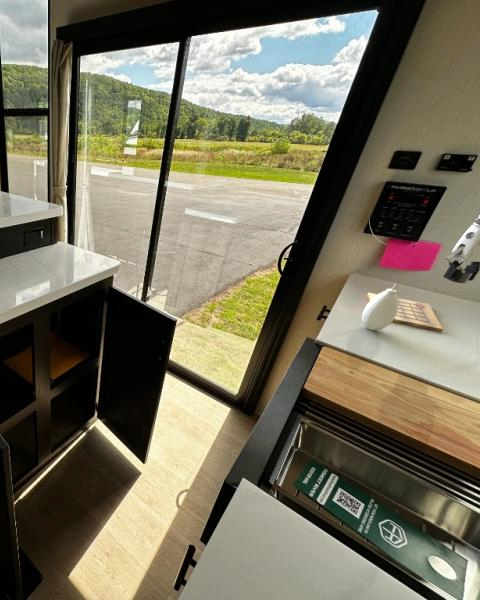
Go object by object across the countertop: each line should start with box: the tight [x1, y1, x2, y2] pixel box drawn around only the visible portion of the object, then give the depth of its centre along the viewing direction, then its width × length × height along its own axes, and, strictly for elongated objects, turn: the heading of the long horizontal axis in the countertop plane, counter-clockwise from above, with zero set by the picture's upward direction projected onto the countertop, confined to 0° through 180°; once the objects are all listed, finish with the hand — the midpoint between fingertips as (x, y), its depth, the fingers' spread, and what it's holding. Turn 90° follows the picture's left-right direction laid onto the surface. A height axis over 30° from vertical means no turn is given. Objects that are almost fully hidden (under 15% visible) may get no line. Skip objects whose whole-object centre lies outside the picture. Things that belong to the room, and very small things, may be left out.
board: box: [366, 292, 444, 333], centre depth 116 cm, size 18×18×1 cm
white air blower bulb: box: [361, 282, 399, 331], centre depth 104 cm, size 8×8×18 cm
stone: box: [449, 267, 474, 284], centre depth 98 cm, size 4×4×3 cm
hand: (457, 278), depth 98 cm, fingers closed on stone, 4 cm apart
